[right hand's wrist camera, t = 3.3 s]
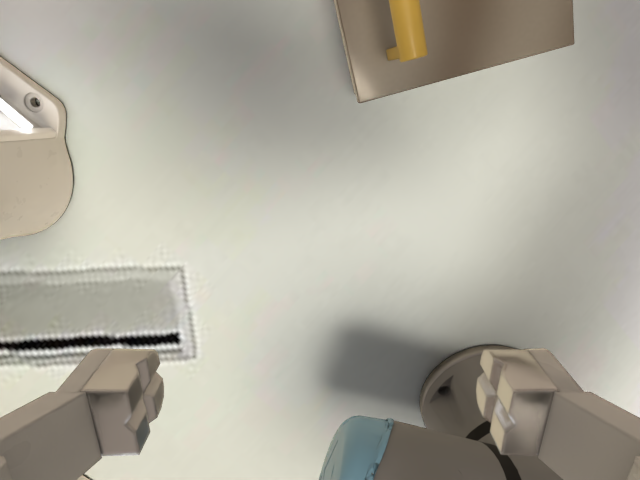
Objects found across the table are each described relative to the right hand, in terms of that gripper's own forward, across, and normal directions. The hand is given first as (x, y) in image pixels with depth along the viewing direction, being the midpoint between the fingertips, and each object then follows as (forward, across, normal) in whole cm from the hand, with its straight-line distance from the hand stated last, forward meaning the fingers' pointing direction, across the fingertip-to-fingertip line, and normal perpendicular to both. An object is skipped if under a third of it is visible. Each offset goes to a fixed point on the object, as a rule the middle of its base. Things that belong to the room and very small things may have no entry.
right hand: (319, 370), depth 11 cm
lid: (+23, +9, +12) cm, 27 cm away
